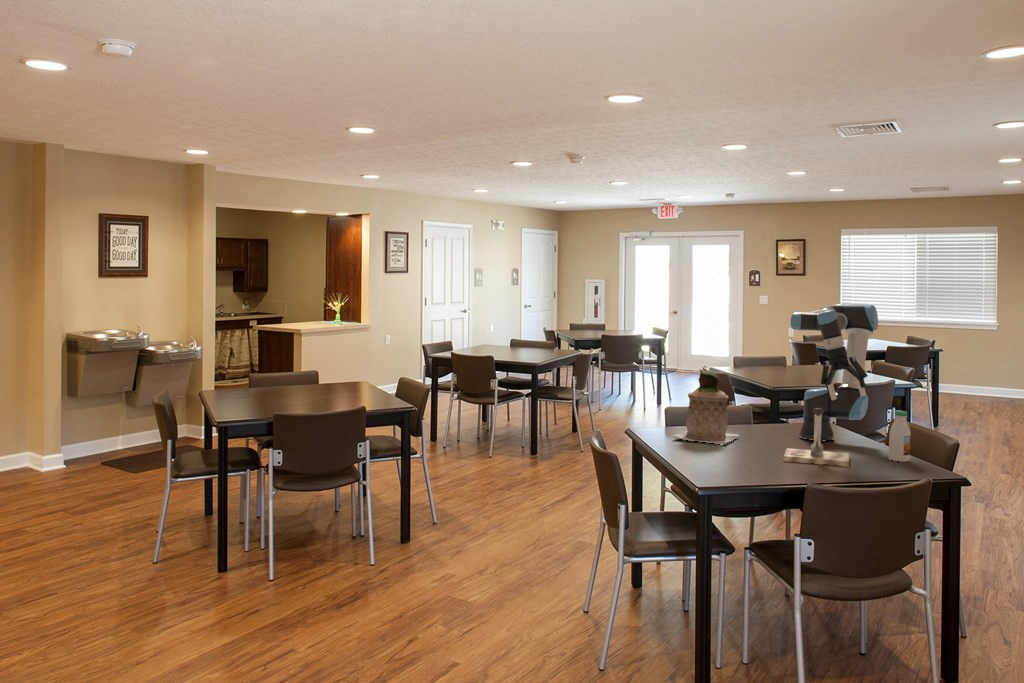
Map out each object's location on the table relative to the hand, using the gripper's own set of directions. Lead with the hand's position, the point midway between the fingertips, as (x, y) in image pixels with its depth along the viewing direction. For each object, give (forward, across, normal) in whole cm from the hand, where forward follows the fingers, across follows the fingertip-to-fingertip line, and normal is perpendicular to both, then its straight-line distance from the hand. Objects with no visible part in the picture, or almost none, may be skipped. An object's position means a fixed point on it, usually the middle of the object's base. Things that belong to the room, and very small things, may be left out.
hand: (848, 397), depth 333 cm
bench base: (+20, -7, -21) cm, 30 cm away
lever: (+17, -7, -20) cm, 28 cm away
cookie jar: (+7, -60, -24) cm, 65 cm away
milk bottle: (+29, +10, +6) cm, 31 cm away
